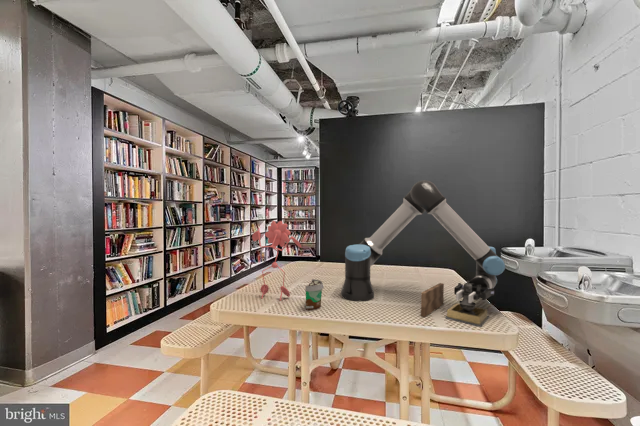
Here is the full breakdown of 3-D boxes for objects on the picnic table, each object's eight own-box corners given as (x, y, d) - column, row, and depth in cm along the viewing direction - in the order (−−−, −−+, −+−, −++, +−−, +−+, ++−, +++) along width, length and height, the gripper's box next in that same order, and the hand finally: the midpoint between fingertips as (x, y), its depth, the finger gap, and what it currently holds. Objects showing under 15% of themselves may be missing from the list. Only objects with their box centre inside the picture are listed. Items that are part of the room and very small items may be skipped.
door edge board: (424, 317, 111) (425, 293, 111) (421, 316, 112) (421, 292, 112) (443, 304, 126) (443, 283, 126) (439, 303, 127) (440, 282, 127)
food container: (320, 312, 115) (320, 287, 115) (305, 311, 116) (305, 286, 116) (325, 302, 127) (326, 279, 127) (312, 301, 128) (312, 278, 128)
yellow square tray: (480, 327, 102) (481, 318, 102) (445, 318, 110) (445, 310, 110) (489, 317, 111) (489, 309, 111) (455, 310, 119) (455, 302, 119)
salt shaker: (455, 309, 113) (456, 278, 113) (470, 309, 113) (470, 278, 113) (464, 315, 107) (464, 282, 107) (479, 315, 108) (480, 282, 107)
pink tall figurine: (296, 303, 125) (298, 221, 125) (244, 297, 133) (245, 220, 134) (309, 294, 140) (310, 221, 140) (262, 289, 148) (263, 220, 148)
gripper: (502, 298, 118) (489, 314, 101) (458, 290, 129) (439, 303, 112) (502, 280, 118) (489, 292, 100) (459, 273, 129) (439, 283, 111)
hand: (463, 298), depth 106 cm, fingers closed on salt shaker, 3 cm apart
